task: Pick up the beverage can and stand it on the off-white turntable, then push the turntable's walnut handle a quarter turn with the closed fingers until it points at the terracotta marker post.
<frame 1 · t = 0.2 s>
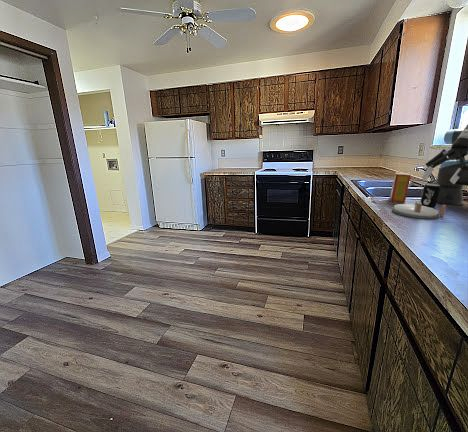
hand: (436, 180, 115), 15 cm above the countertop, tool tilted 35°, fingers open, 13 cm apart
turntable: (416, 205, 115), point 4 cm above the countertop, hinge at 0.0°
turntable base: (414, 213, 116), on the countertop
beverage can: (426, 207, 126), on the countertop
baking soda box: (396, 201, 141), on the countertop
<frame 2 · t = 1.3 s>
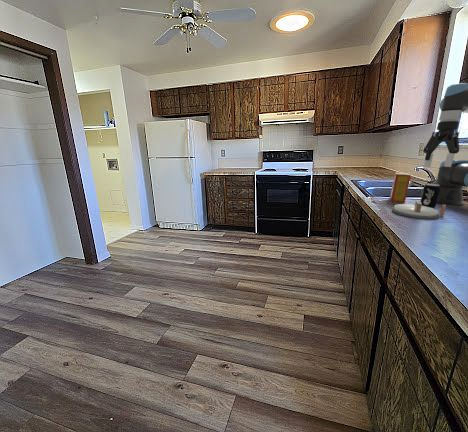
hand: (437, 167, 120), 21 cm above the countertop, tool pointing down, fingers open, 13 cm apart
nothing on the countertop moved.
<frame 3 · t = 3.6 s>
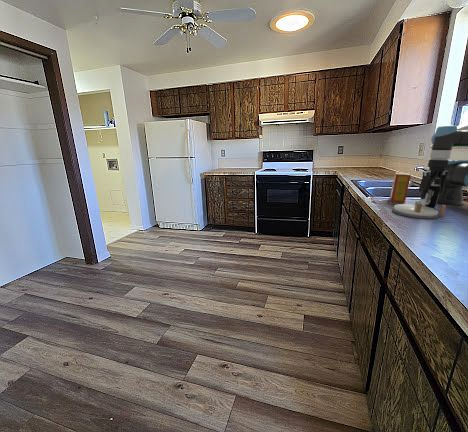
hand: (427, 204, 126), 1 cm above the countertop, tool pointing down, fingers closed on beverage can, 6 cm apart
beverage can: (426, 207, 126), on the countertop, touching gripper
everything else where it was.
when the fingers open (5 cm above the countertop, at t = 9.4 s): beverage can drops 1 cm, resting on turntable.
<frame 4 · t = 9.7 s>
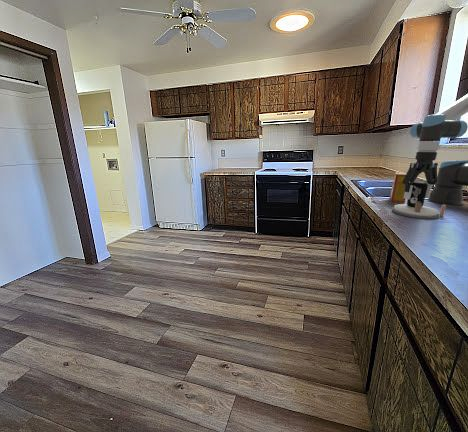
hand: (416, 198, 117), 7 cm above the countertop, tool pointing down, fingers open, 11 cm apart
turntable: (416, 205, 115), point 4 cm above the countertop, hinge at -0.2°, touching beverage can
beverage can: (414, 206, 119), point 2 cm above the countertop, touching turntable
everything else where it was.
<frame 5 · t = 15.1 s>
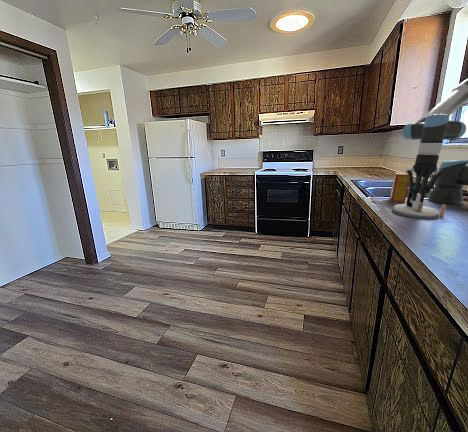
hand: (414, 207, 109), 4 cm above the countertop, tool pointing down, fingers closed
turntable: (416, 205, 115), point 4 cm above the countertop, hinge at 3.2°, touching beverage can, gripper
everything else where it was.
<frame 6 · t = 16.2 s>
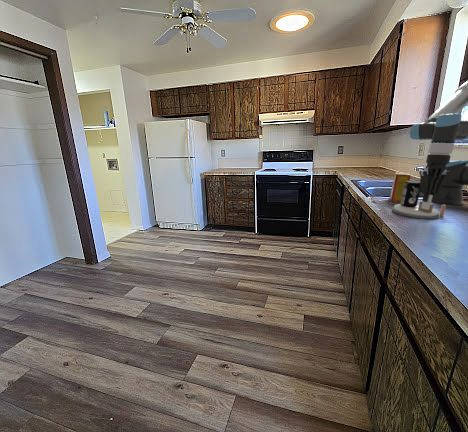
hand: (424, 208, 108), 4 cm above the countertop, tool pointing down, fingers closed
turntable: (416, 205, 115), point 4 cm above the countertop, hinge at 34.0°, touching beverage can, gripper
beverage can: (408, 206, 119), point 2 cm above the countertop, touching turntable
everything else where it was.
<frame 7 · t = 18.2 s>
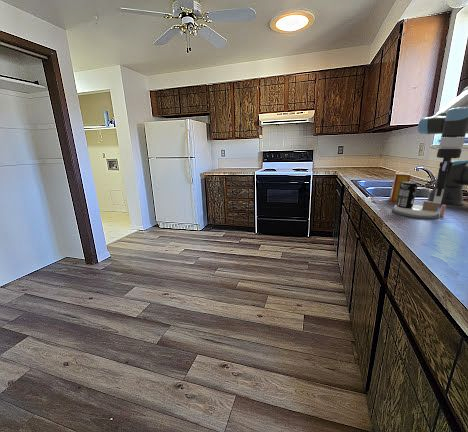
hand: (436, 203, 108), 7 cm above the countertop, tool pointing down, fingers closed
turntable: (416, 205, 115), point 4 cm above the countertop, hinge at 81.4°, touching beverage can
beverage can: (404, 207, 118), point 2 cm above the countertop, touching turntable
everything else where it was.
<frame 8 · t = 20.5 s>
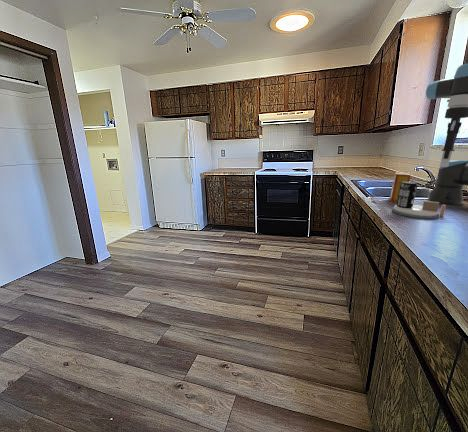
hand: (443, 166, 105), 22 cm above the countertop, tool pointing down, fingers closed
turntable: (416, 205, 115), point 4 cm above the countertop, hinge at 82.7°, touching beverage can
everything else where it was.
at the end: turntable at +83° (first picture: +0°); beverage can inside the target area on the turntable (0.7 cm from its centre), point 2.3 cm above the turntable's base; beverage can tilted 0° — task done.
